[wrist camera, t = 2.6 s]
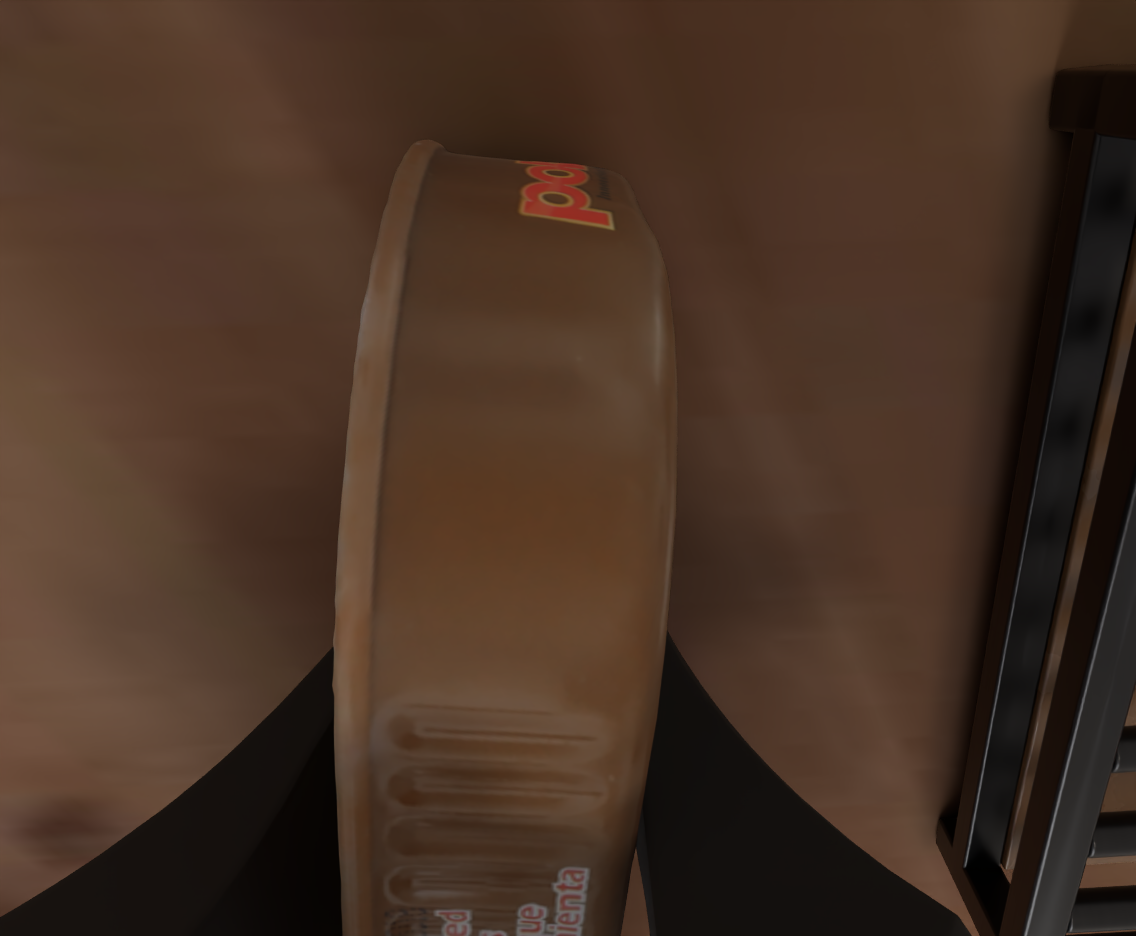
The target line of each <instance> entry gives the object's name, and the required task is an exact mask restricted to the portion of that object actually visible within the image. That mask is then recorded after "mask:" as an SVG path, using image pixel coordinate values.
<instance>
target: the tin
mask: <svg viewBox="0 0 1136 936" xmlns="http://www.w3.org/2000/svg"><path fill="white" fill-rule="evenodd" d="M677 424H678V392H677V371H676V350H675V331H674V322H673V313H672V304H671V295H670V286H669V277H668V273H667V270H666V266H665V263H664V260H663V256H662V253H661V249H660V246H659V243H658V241H657V239H656V237H655V236H654V234H653V232H652V230H651V229H650V227H649V225H648V223H647V222H646V220H645V218H644V216H643V214H642V212H641V209H640V207H639V205H638V202H637V200H636V197H635V194H634V191H633V189H632V188H631V186H630V184H629V182H628V181H627V180H626V179H625V178H624V177H623V176H621V175H620V174H618V173H616V172H613V171H610V170H608V169H604V168H597V167H590V166H584V165H577V164H568V163H553V162H538V161H523V160H510V159H500V158H490V157H480V156H472V155H463V154H456V153H451V152H448V151H447V150H446V149H445V148H444V147H443V145H441V144H440V143H437V142H435V141H432V140H428V139H425V140H420V141H416V142H415V143H414V144H412V145H411V147H410V148H409V150H408V151H407V153H406V154H405V155H404V156H403V160H402V162H401V163H400V165H399V167H398V168H397V170H396V173H395V176H394V179H393V182H392V185H391V188H390V193H389V198H388V202H387V204H386V206H385V209H384V212H383V216H382V220H381V224H380V230H379V235H378V240H377V244H376V248H375V252H374V255H373V258H372V261H371V268H370V276H369V283H368V287H367V291H366V295H365V299H364V302H363V306H362V310H361V320H360V329H359V335H358V343H357V352H356V358H355V364H354V372H353V387H352V392H351V400H350V412H349V423H348V430H347V443H346V458H345V469H344V479H343V489H342V498H341V512H340V523H339V535H338V556H337V570H336V591H335V608H336V616H335V630H334V637H333V646H334V672H333V683H332V687H333V692H334V752H335V777H336V793H337V818H338V842H339V860H340V874H341V910H342V931H343V936H620V934H621V929H622V923H623V917H624V911H625V905H626V899H627V893H628V886H629V879H630V873H631V866H632V862H633V857H634V853H635V849H636V844H637V836H638V827H639V821H640V815H641V810H642V804H643V798H644V792H645V786H646V779H647V773H648V767H649V761H650V755H651V749H652V743H653V738H654V732H655V726H656V720H657V713H658V705H659V696H660V688H661V679H662V671H663V663H664V654H665V645H666V634H667V624H668V613H669V603H670V592H671V579H672V564H673V550H674V536H675V522H676V498H677Z"/></svg>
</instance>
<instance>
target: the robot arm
mask: <svg viewBox="0 0 1136 936" xmlns="http://www.w3.org/2000/svg"><path fill="white" fill-rule="evenodd" d="M333 672H334V646H333V647H332V648H331V649H330V651H329V652H328V653H327V654H326V655H325V656H324V657H323V658H322V659H321V661H320V662H319V663H318V664H317V665H316V666H315V667H314V668H313V669H312V670H311V672H310V673H309V674H308V675H307V676H306V677H305V678H304V679H303V680H302V681H301V682H300V683H299V684H298V686H297V687H296V688H295V689H294V690H293V691H292V692H291V693H290V694H289V695H288V696H287V697H286V698H285V699H284V700H283V701H282V703H281V704H280V705H279V706H278V707H277V708H276V709H275V710H274V711H273V712H272V713H271V714H270V715H268V716H267V717H266V718H265V719H264V720H263V721H262V722H261V723H260V724H259V725H258V726H257V727H256V728H255V729H254V730H253V731H252V732H251V733H250V734H249V735H248V736H247V737H246V738H245V739H244V740H243V741H242V742H241V743H240V744H239V745H238V746H237V747H236V748H234V749H233V750H232V751H231V752H230V753H229V754H228V755H227V756H226V757H225V758H224V759H223V760H221V761H220V762H219V763H218V764H217V765H216V766H215V767H213V768H212V769H211V770H210V771H209V772H208V773H207V774H205V775H204V776H203V777H202V778H201V779H199V780H198V781H197V782H196V783H195V784H193V785H192V786H191V787H190V788H188V789H187V790H186V791H185V792H184V793H182V794H181V795H180V796H179V797H177V798H176V799H175V800H174V801H173V802H171V803H170V804H169V805H167V806H166V807H165V808H164V809H162V810H161V811H160V812H158V813H157V814H156V815H154V816H153V817H151V818H150V819H149V820H147V821H146V822H145V823H143V824H142V825H140V826H139V827H138V828H136V829H135V830H133V831H132V832H131V833H129V834H128V835H127V836H125V837H124V838H122V839H121V840H120V841H118V842H117V843H116V844H114V845H113V846H111V847H110V848H109V849H107V850H106V851H104V852H103V853H102V854H100V855H99V856H97V857H96V858H94V859H93V860H91V861H90V862H88V863H87V864H85V865H84V866H82V867H81V868H79V869H78V870H76V871H75V872H73V873H72V874H70V875H69V876H67V877H65V878H64V879H62V880H61V881H59V882H58V883H56V884H55V885H53V886H51V887H50V888H48V889H46V890H45V891H43V892H42V893H40V894H38V895H37V896H35V897H33V898H32V899H30V900H29V901H27V902H25V903H24V904H22V905H20V906H19V907H17V908H15V909H14V910H12V911H10V912H9V913H7V914H5V915H3V916H2V917H0V936H343V931H342V910H341V874H340V860H339V842H338V818H337V793H336V777H335V752H334V692H333V687H332V683H333ZM636 849H637V855H638V860H639V866H640V871H641V877H642V883H643V888H644V894H645V900H646V907H647V914H648V922H649V929H650V936H971V934H970V933H969V931H968V929H967V928H966V927H965V925H964V924H963V922H962V921H961V919H960V918H959V917H958V916H957V915H956V914H955V913H953V912H952V911H950V910H949V909H947V908H946V907H944V906H943V905H941V904H940V903H938V902H937V901H935V900H934V899H932V898H931V897H929V896H928V895H926V894H925V893H923V892H922V891H920V890H918V889H917V888H915V887H914V886H912V885H911V884H909V883H908V882H906V881H905V880H903V879H902V878H900V877H899V876H897V875H896V874H894V873H893V872H891V871H890V870H888V869H887V868H886V867H884V866H883V865H882V864H881V863H879V862H878V861H877V860H875V859H874V858H873V857H871V856H870V855H869V854H867V853H866V852H865V851H864V850H862V849H861V848H860V847H858V846H857V845H856V844H854V843H853V842H852V841H851V840H849V839H848V838H847V837H846V836H845V835H844V834H842V833H841V832H840V831H839V830H838V829H837V828H835V827H834V826H833V825H832V824H831V823H830V822H828V821H827V820H826V819H825V818H824V817H823V816H821V815H820V814H819V813H818V812H817V811H816V810H815V809H813V808H812V807H811V806H810V805H809V804H808V803H806V802H805V801H804V800H803V799H802V798H801V797H800V796H798V795H797V794H796V793H795V792H794V791H793V790H792V789H791V788H790V787H789V786H788V785H787V784H786V783H785V782H784V781H783V780H782V779H781V778H780V777H779V776H778V775H777V774H776V773H775V772H774V771H773V770H772V769H771V768H770V767H769V766H768V765H767V764H766V763H765V762H764V761H763V760H762V758H761V757H760V756H759V755H758V754H757V753H756V752H755V751H754V750H753V749H752V748H751V747H750V746H749V744H748V743H747V742H746V741H745V740H744V739H743V738H742V736H741V735H740V734H739V733H738V732H737V730H736V729H735V728H734V727H733V726H732V724H731V723H730V722H729V721H728V719H727V718H726V717H725V716H724V714H723V713H722V712H721V711H720V709H719V708H718V707H717V706H716V704H715V703H714V702H713V700H712V699H711V698H710V696H709V695H708V694H707V692H706V691H705V689H704V688H703V687H702V685H701V684H700V682H699V681H698V679H697V678H696V676H695V675H694V673H693V672H692V670H691V669H690V667H689V666H688V665H687V663H686V662H685V660H684V658H683V657H682V655H681V654H680V652H679V650H678V649H677V647H676V645H675V643H674V642H673V640H672V638H671V636H670V635H669V633H668V631H667V634H666V645H665V654H664V663H663V671H662V679H661V688H660V696H659V705H658V713H657V720H656V726H655V732H654V738H653V743H652V749H651V755H650V761H649V767H648V773H647V779H646V786H645V792H644V798H643V804H642V810H641V815H640V821H639V827H638V836H637V844H636Z"/></svg>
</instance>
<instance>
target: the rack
mask: <svg viewBox="0 0 1136 936" xmlns="http://www.w3.org/2000/svg"><path fill="white" fill-rule="evenodd" d="M1049 128H1050V129H1053V130H1059V131H1066V132H1074V135H1073V141H1072V147H1071V153H1070V159H1069V165H1068V171H1067V177H1066V183H1065V188H1064V194H1063V200H1062V206H1061V212H1060V218H1059V224H1058V230H1057V235H1056V241H1055V247H1054V253H1053V259H1052V265H1051V271H1050V277H1049V282H1048V288H1047V294H1046V300H1045V306H1044V312H1043V318H1042V324H1041V329H1040V335H1039V341H1038V347H1037V353H1036V359H1035V365H1034V371H1033V377H1032V382H1031V388H1030V394H1029V400H1028V406H1027V412H1026V418H1025V424H1024V429H1023V435H1022V441H1021V447H1020V453H1019V459H1018V465H1017V471H1016V476H1015V482H1014V488H1013V494H1012V500H1011V506H1010V512H1009V518H1008V523H1007V529H1006V535H1005V541H1004V547H1003V553H1002V559H1001V565H1000V571H999V576H998V582H997V588H996V594H995V600H994V606H993V612H992V618H991V623H990V629H989V635H988V641H987V647H986V653H985V659H984V665H983V670H982V676H981V682H980V688H979V694H978V700H977V706H976V712H975V717H974V723H973V729H972V735H971V741H970V747H969V753H968V759H967V765H966V770H965V776H964V782H963V788H962V794H961V800H960V806H959V812H958V817H957V818H946V819H940V820H939V825H938V832H937V838H936V843H937V846H938V848H939V850H940V852H941V854H942V856H943V858H944V860H945V863H946V865H947V867H948V869H949V871H950V873H951V875H952V878H953V880H954V882H955V884H956V886H957V888H958V890H959V892H960V895H961V897H962V899H963V901H964V903H965V905H966V907H967V909H968V912H969V914H970V916H971V918H972V920H973V922H974V924H975V926H976V929H977V931H978V933H979V935H980V936H1136V931H1131V932H1113V933H1094V934H1076V935H1066V933H1080V932H1099V931H1117V930H1136V885H1131V886H1113V887H1095V888H1079V886H1080V883H1081V879H1082V876H1083V872H1084V868H1085V865H1091V864H1109V863H1126V862H1136V64H1129V65H1100V66H1090V67H1080V68H1071V69H1063V70H1061V71H1059V72H1058V73H1057V76H1056V80H1055V87H1054V93H1053V100H1052V106H1051V112H1050V119H1049ZM1001 864H1002V866H1003V867H1004V869H1014V871H1013V875H1012V880H1011V884H1010V883H1009V882H1008V880H1007V878H1006V876H1005V874H1004V872H1003V870H1002V868H1001V867H1000V865H1001Z"/></svg>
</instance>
